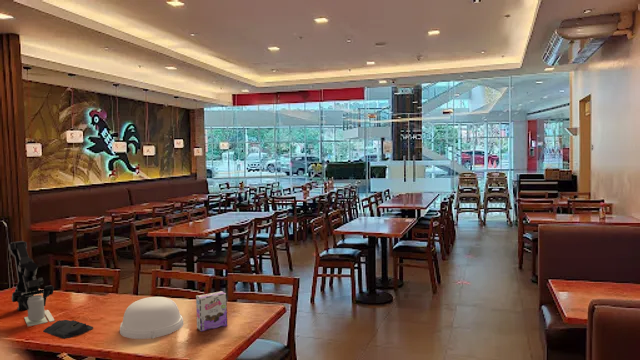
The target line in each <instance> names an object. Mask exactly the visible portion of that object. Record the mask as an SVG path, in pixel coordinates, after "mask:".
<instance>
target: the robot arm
mask: <svg viewBox="0 0 640 360" xmlns="http://www.w3.org/2000/svg"><path fill="white" fill-rule="evenodd" d="M27 249H28V243H27V241H24V240H20V241H12V242H10V243H9V244H8V251H9V253H10V255H11V256H12V257H13V258H14V262H15V269H16V277H17V284H16V286H15V289H14V291H13V292H12V294H11V301H12V302H13V303H15V302H17V303H18V304H17V306H18V307H17V308H16V309H17V311H18V312H20V311H26V310H28V304H27V300H28V298H29V297H31V296H35V295H42V297H43V298H44V307H45V306H46V302H47V298H48V297H49V296H52V295H53V294H54V291H55V290H54V289H55V288H54V285H52V284H50V285H45V286H44V288H43V289H40V287H41V285H43V284H44V279H43V277H38V278H37V276H36V275H37V271H38V268H39V267H38V264H37V263H35V262H34V260H33V259H32V258H31V257H30V255H29V254H28V250H27Z"/></svg>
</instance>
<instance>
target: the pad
mask: <svg viewBox="0 0 640 360" xmlns="http://www.w3.org/2000/svg"><path fill="white" fill-rule="evenodd" d="M24 322H25V323H26V326H27V327H32V326H36V325H43V324H45V323H46V324H47V323H48V322H49V320H48V318H47V317H46V316H45V317H44V318H43V319H41V320H38V321H30V320H29V319H28V316H24Z"/></svg>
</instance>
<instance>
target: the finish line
mask: <svg viewBox="0 0 640 360" xmlns="http://www.w3.org/2000/svg"><path fill="white" fill-rule="evenodd" d="M44 311H45V317H46V319H47V321H48V322H49V323H52V322H56V321H55V318H54V316H53V315H52V313H51V312H50V310H49V309H44Z"/></svg>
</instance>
